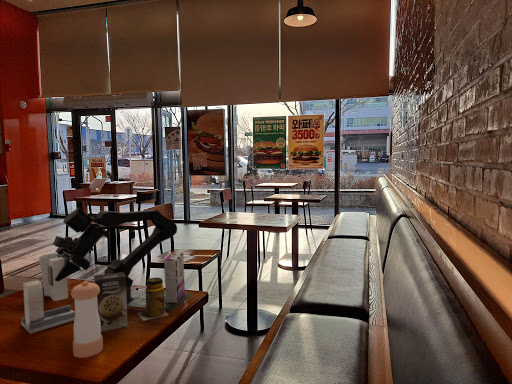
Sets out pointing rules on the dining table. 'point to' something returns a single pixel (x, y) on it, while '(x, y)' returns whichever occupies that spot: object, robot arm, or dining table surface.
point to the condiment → (154, 300)
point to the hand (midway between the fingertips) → (53, 279)
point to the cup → (46, 271)
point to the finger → (57, 288)
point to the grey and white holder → (35, 313)
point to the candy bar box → (174, 277)
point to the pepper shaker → (86, 321)
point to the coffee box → (112, 300)
